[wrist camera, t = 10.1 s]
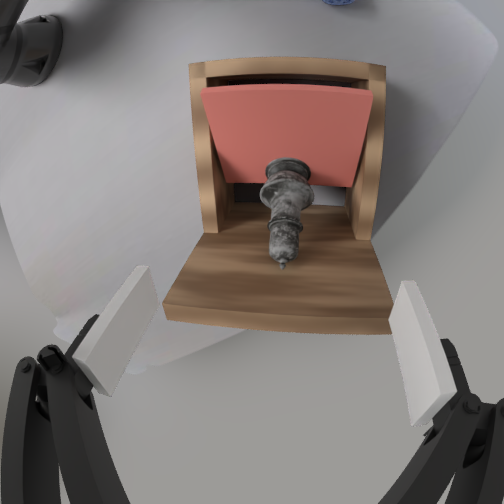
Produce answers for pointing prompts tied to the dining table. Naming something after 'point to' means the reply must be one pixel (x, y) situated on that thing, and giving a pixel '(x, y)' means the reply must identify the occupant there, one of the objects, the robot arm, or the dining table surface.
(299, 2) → the dining table surface
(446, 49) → the dining table surface
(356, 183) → the wooden box
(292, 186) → the salt shaker
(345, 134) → the trapdoor
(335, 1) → the decorative dice
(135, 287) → the robot arm
